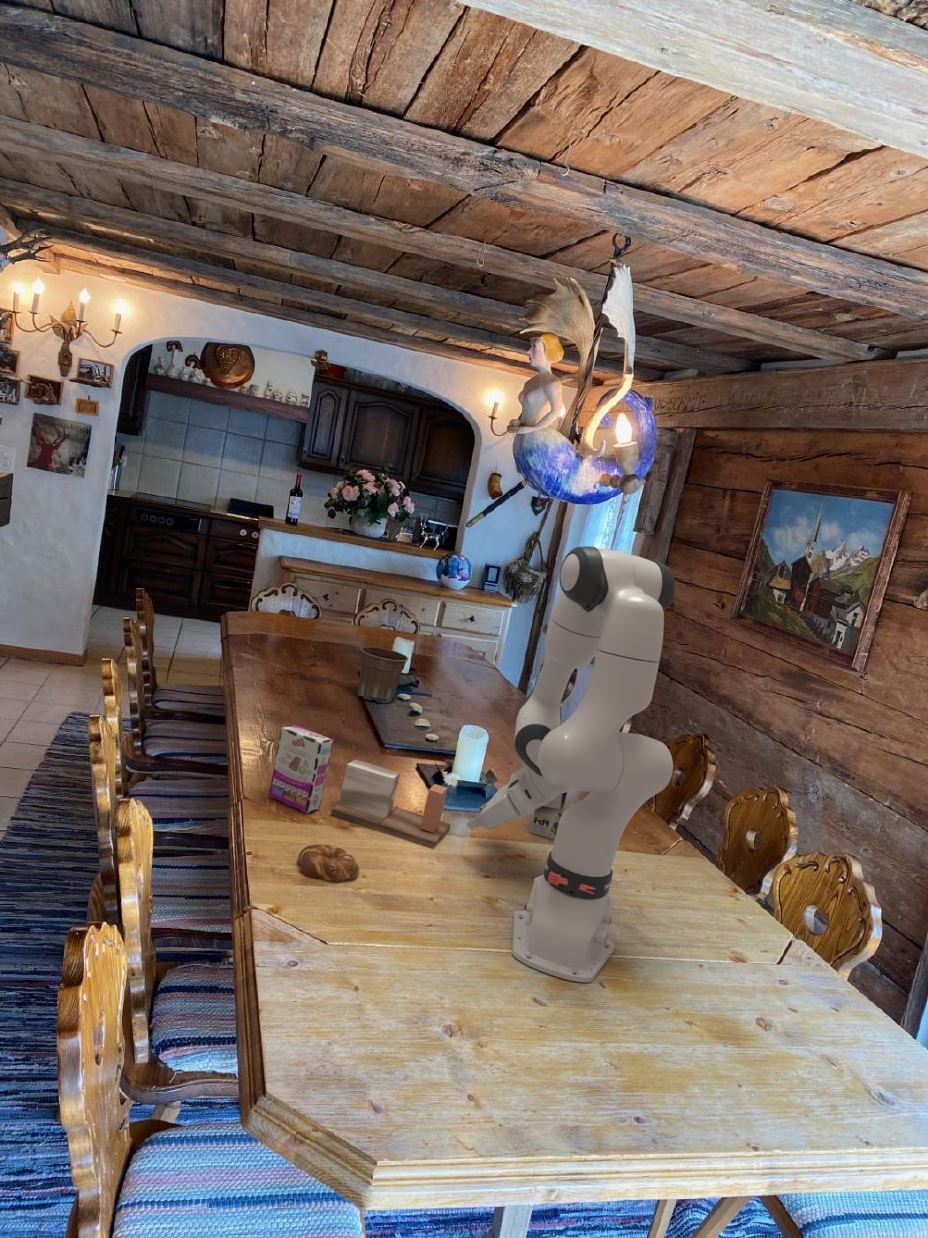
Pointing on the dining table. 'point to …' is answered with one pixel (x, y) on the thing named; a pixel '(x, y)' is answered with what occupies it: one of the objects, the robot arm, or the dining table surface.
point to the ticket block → (381, 805)
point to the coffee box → (548, 817)
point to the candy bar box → (300, 768)
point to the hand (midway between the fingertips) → (474, 819)
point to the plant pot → (380, 672)
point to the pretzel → (328, 863)
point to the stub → (433, 808)
